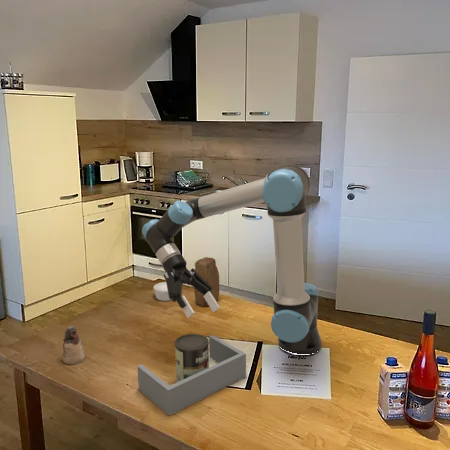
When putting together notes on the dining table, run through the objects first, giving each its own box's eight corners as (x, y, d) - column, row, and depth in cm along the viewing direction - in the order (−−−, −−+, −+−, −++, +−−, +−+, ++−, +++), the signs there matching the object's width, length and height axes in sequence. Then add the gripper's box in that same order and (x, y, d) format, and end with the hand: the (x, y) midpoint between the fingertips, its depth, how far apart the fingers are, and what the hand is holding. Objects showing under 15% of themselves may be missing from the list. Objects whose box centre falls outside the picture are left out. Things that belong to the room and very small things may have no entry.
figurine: (79, 351, 162) (75, 320, 159) (89, 359, 157) (86, 326, 154) (59, 359, 157) (56, 327, 154) (69, 367, 152) (65, 334, 149)
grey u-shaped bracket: (138, 389, 140) (137, 365, 138) (213, 356, 158) (212, 334, 156) (169, 415, 127) (168, 390, 125) (245, 376, 146) (245, 353, 144)
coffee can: (216, 379, 144) (215, 338, 141) (197, 396, 136) (195, 353, 132) (189, 370, 150) (188, 330, 146) (169, 386, 141) (167, 344, 138)
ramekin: (177, 302, 203) (176, 290, 201) (152, 302, 203) (151, 291, 202) (180, 292, 214) (179, 281, 212) (156, 292, 214) (155, 281, 212)
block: (206, 308, 195) (205, 264, 190) (192, 304, 200) (191, 260, 195) (222, 300, 204) (221, 257, 199) (209, 296, 208) (208, 254, 203)
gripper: (188, 265, 166) (219, 314, 158) (138, 269, 146) (171, 325, 137) (200, 252, 163) (233, 301, 155) (152, 254, 142) (187, 310, 134)
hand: (204, 312), depth 146 cm, fingers open, 13 cm apart
